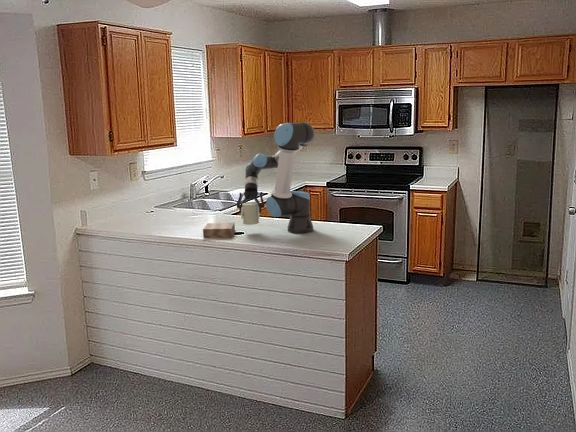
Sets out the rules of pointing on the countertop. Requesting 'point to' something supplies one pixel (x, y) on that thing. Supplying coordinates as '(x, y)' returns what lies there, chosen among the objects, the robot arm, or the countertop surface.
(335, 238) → the countertop surface
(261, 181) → the countertop surface
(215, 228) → the plinth
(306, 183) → the countertop surface
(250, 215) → the can
